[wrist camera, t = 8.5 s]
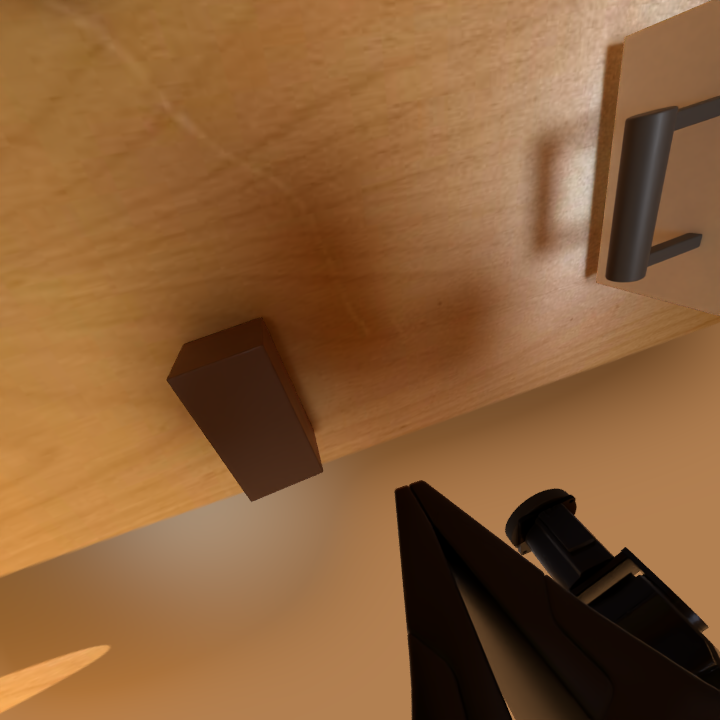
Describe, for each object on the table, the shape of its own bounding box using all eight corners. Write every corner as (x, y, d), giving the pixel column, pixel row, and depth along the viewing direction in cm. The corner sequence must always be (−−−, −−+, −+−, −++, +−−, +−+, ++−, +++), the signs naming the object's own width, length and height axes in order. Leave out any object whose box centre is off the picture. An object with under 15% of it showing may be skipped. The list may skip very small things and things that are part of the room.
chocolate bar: (261, 316, 16) (263, 344, 13) (314, 431, 20) (324, 472, 17) (182, 344, 16) (165, 380, 13) (252, 456, 20) (251, 502, 17)
